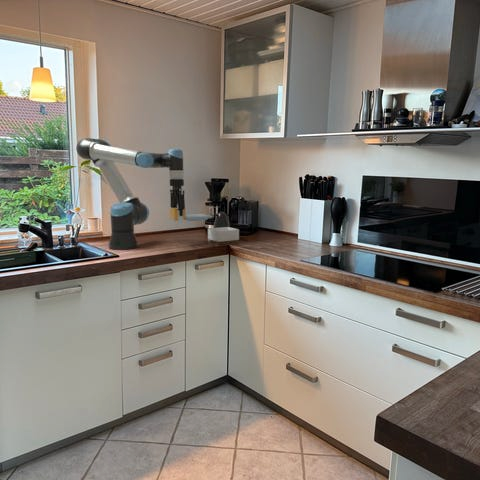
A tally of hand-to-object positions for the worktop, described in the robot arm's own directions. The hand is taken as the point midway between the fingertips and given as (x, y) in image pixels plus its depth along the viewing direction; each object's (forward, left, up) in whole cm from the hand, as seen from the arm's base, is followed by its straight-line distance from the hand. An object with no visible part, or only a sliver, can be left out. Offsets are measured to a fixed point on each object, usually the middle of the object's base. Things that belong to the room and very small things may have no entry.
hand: (178, 221), depth 239 cm
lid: (+7, 0, 0) cm, 7 cm away
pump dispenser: (+37, +16, -14) cm, 42 cm away
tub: (+29, 0, -13) cm, 32 cm away
